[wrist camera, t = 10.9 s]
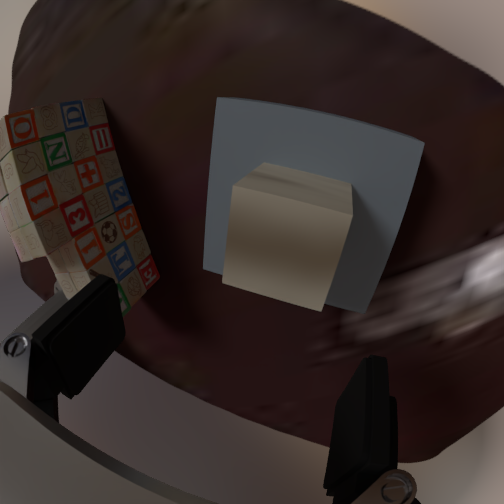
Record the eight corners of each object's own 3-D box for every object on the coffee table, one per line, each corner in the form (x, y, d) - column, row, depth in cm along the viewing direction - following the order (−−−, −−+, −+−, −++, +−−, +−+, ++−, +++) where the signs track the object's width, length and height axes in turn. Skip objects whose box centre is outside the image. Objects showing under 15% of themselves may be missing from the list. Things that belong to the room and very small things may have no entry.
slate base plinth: (364, 286, 26) (364, 314, 23) (220, 247, 29) (202, 268, 25) (411, 136, 19) (424, 143, 16) (236, 97, 22) (217, 97, 18)
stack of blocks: (163, 277, 33) (96, 348, 23) (126, 279, 36) (62, 340, 25) (102, 95, 25) (1, 114, 14) (69, 117, 27) (-20, 143, 17)
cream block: (329, 260, 22) (321, 311, 17) (251, 239, 23) (222, 282, 18) (351, 183, 19) (353, 215, 14) (263, 162, 20) (232, 185, 15)
